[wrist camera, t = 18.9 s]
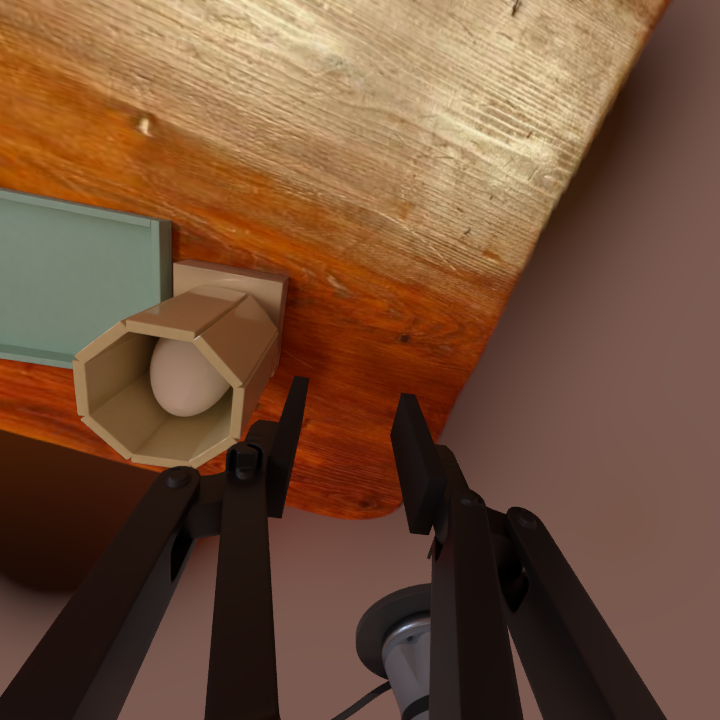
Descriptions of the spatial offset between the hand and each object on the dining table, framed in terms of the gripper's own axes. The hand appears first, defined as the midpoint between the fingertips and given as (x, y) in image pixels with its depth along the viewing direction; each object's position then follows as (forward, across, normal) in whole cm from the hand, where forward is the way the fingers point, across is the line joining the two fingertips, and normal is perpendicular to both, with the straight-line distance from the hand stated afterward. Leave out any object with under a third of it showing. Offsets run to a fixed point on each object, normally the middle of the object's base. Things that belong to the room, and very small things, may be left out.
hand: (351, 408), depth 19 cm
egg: (+9, -10, 0) cm, 14 cm away
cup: (+10, -10, -1) cm, 14 cm away
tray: (+13, -25, 0) cm, 28 cm away
